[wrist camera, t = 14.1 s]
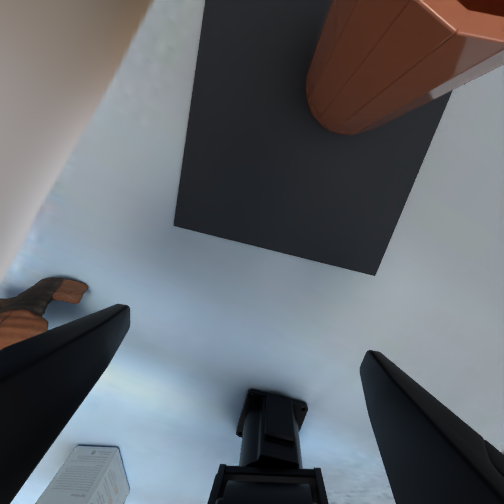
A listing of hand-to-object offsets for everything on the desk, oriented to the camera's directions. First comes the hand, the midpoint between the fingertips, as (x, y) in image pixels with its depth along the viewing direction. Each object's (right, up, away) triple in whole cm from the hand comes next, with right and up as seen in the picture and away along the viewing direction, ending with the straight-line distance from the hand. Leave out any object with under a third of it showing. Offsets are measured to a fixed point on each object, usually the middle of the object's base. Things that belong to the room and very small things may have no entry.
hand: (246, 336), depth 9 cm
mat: (+4, +13, +9) cm, 16 cm away
